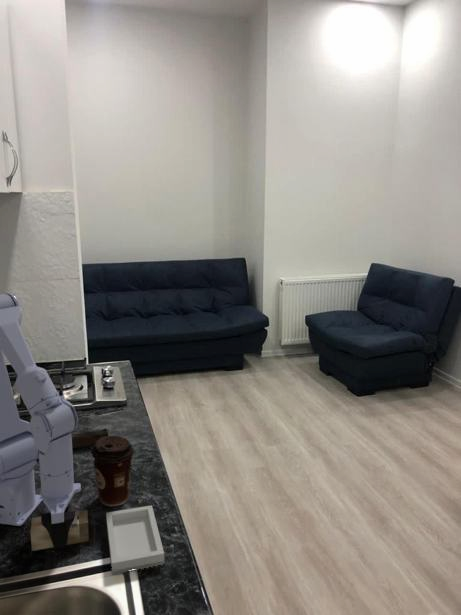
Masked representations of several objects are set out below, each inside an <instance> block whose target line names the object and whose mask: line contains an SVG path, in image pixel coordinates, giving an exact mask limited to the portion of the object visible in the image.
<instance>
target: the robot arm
mask: <svg viewBox="0 0 461 615" xmlns="http://www.w3.org/2000/svg"><path fill="white" fill-rule="evenodd" d="M22 319H23V312H22V308H21V304H20V302H19V300H18V299H17V297H16V296H15V295H14V294H13V293H11V292H4V293H3V294H0V524H1V525H11V526H17V527H20V526H22V525H24V524H25V522H26V521H27V520H28V519H29V517H30V516H31V515H32V513H34V511H35V510H36V509H37V508H38V506H39V505H40V504H41V503H42V502H43V503H44V504H45V506H46V507H47V509H48V510H49V512H45V513H41V515H40V517H41V523H42V525H43V526H44V527H45V528H46V529H47V531H48V533H49V535H50V538H51V541H52V544H53V546H54V547H53V548H54V549H58V548H64V547H67V546H68V545H67V541H68V534H69V529H70V526H71V524H72V522H73V521H74V518H75V511H71V510H70V511H69V505H70V504H69V503H70V502H71V500H72V498H73V497H74V495H75V494H76V493H80V492H81V491H82V488H81V486H82V485H81V483H79V482H77V483H75V478H74V477H75V476H74V459H73V458H74V457H73V455H74V454H73V448H72V432H73V431H76V429H77V428H78V424H79V418H78V414H77V410H76V409H75V406H74V405H73V403H71V402H70V401H69V400H67V399H66V398H65V396H63V395H60V394H59V392H58V390H57V388H56V387H55V385H54V382H53V381H52V379H51V377H50V375H49V373H48V371H47V370H46V369H45V368H43V367H40V366H37V364H36V362H35V359H34V357H33V354H32V352H31V349H30V346H29V345H28V342H27V339H26V337H25V335H24V333H23V330H22V328H21V323H22ZM4 356H5V357H4ZM5 358H6V359H7V361H8V362H9V364H10V366H11V367H12V368H13V370H14V372H15V373H16V375H17V376H16V380H15V383H14V385H15V386H14V387H15V388H16V389H17V391H18V394H19V395H20V397H21V399H22V402H23V403H24V405H25V407H26V409H27V411H28V413H29V415H30V417H31V418H30V421H27V420H23V419H21V418H20V414H19V411H18V408H17V403H16V398H15V395H14V392H13V387H12V384H11V381H10V376H9V373H8V369H7V365H6V362H5ZM37 460H38V461H39V462H37ZM37 463H39V476H40V478H39V479H40V491H39V492H40V493H39V494H36V484H35V472H34V471H35V470H34V467H35V466H37V465H38V464H37Z"/></svg>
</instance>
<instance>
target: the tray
mask: <svg viewBox="0 0 461 615" xmlns="http://www.w3.org/2000/svg"><path fill="white" fill-rule="evenodd" d="M154 512H155V511H154V508H153V505H145V506H140V507H132V508H127V509H121V510H115V511H109V512H108V511H107V512H106V513H105V514H106V515H105V517H106V518H105V520H106V530H107V531H106V532H107V540H108V541H107V542H108V547H109V550H108V551H109V556H110V557H109V558H111V559H110V566H111V567H112V568H111V574H112V576H116V575H119V574H125V573H124V572H126V571H128V570H132V569H141V570H145V569H144V568H146V569H150V568H149V567H151V568H154V567H153V566H156V567H159V566H158V565H161V566H164V565H165V551H164V547H163V544H162V539H161V535H160V532H159V528H158V524H157V520H156V516H155V513H154ZM163 564H164V565H163ZM126 573H127V572H126Z"/></svg>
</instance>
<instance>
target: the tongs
mask: <svg viewBox="0 0 461 615" xmlns="http://www.w3.org/2000/svg"><path fill="white" fill-rule="evenodd" d="M70 511H75V518H74V521H73V522H72V524H71V526H70V529H69V534H68V541H67V545H66V546H68V545H73V544H80V543H86V542H89V541H90V539H89V538H90V536H89V535H90V534H89V517H88V515H89V514H88V509H82V510H78V508H72V509H71V510H70ZM30 542H31V543H30V544H31V545H30V546H31V552H33V551H34V552H35V551H39V550H46V549H50V548H54V546H53V544H52V541H51V538H50V535H49V533H48V531H47V529H46V528H45V527H44V526H43V525H42V523H41V516H36V517H32V518H31V527H30Z"/></svg>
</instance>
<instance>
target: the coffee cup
mask: <svg viewBox="0 0 461 615" xmlns="http://www.w3.org/2000/svg"><path fill="white" fill-rule="evenodd" d="M90 455H92V457H93V459H94V460H93V468H94V475H95V476H94V477H95V482H96V487H97V491H98V500H99V501H100V503H101V504H102V505H105V506H107V507H118V506H122V505H123V504H125V503H126V502H127V501H128V500H129V497H130V489H131V488H130V486H131V475H132V474H131V470H132V458H133V455H134V448H133V446H132V444H130V441H129V440H128V439H127V438H125V437H122V436H119V435H109V436H107V437H102V438H100V439H99V440H98V441H97V442H96V444H95V445H93V447H92V448H91V450H90Z"/></svg>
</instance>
